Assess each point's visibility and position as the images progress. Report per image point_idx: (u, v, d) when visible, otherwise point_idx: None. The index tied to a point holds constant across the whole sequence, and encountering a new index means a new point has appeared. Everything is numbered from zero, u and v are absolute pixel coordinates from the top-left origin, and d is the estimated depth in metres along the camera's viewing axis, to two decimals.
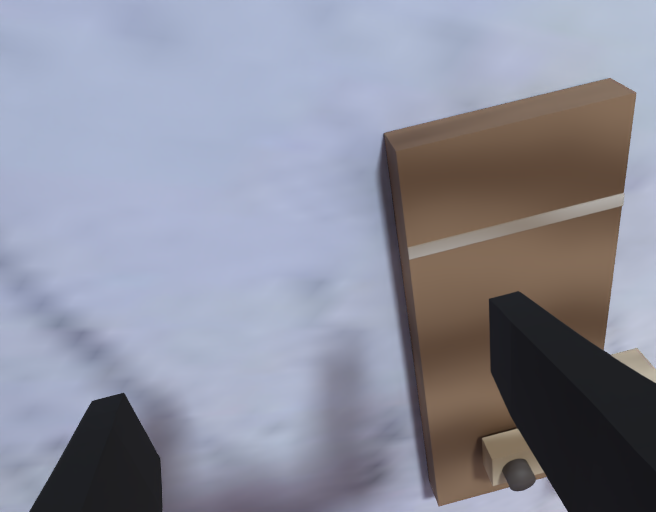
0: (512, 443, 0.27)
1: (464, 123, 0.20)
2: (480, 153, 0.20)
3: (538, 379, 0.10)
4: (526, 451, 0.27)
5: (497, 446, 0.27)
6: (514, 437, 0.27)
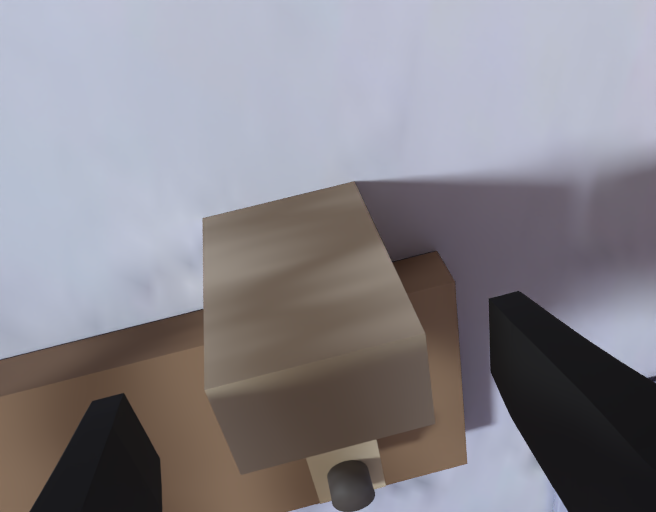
0: None
1: None
2: None
3: (538, 379, 0.10)
4: (312, 471, 0.17)
5: None
6: None
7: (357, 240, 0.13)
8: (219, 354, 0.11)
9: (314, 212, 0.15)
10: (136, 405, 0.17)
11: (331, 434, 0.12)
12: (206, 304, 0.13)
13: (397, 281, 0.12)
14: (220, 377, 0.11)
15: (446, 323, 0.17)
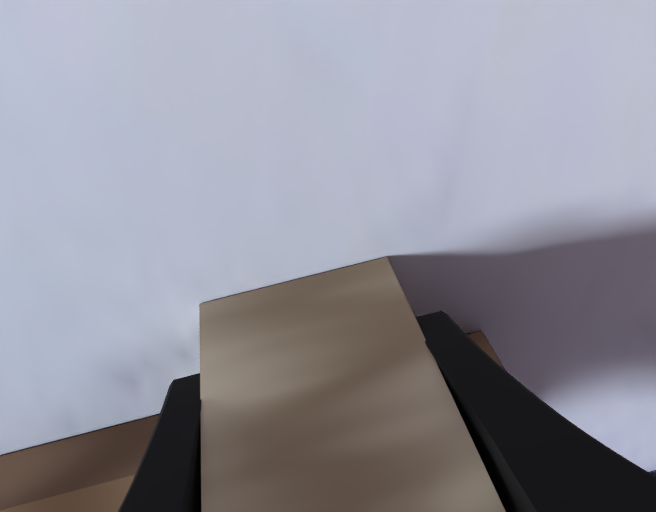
0: None
1: None
2: None
3: None
4: None
5: None
6: None
7: (399, 348, 0.10)
8: None
9: (340, 300, 0.12)
10: None
11: None
12: (204, 444, 0.10)
13: (458, 420, 0.09)
14: None
15: None
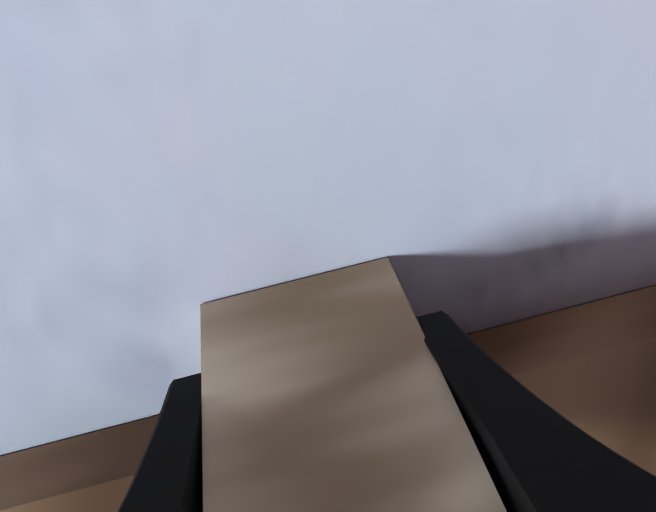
0: None
1: None
2: None
3: None
4: None
5: None
6: None
7: (399, 349, 0.10)
8: None
9: (340, 301, 0.12)
10: None
11: None
12: (206, 444, 0.10)
13: (459, 420, 0.09)
14: None
15: None
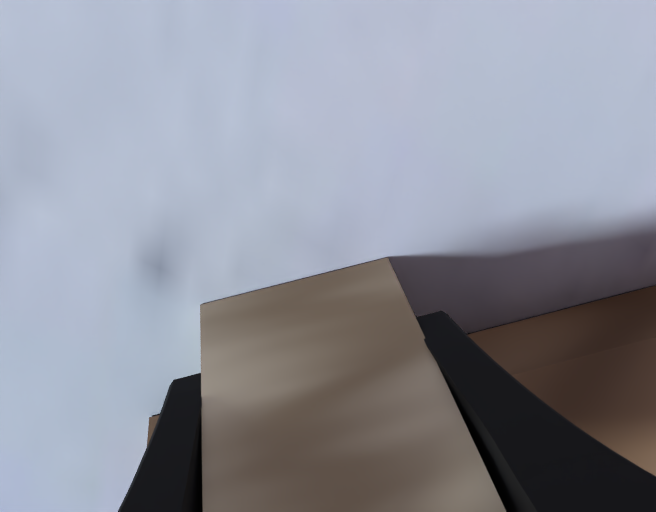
0: None
1: None
2: None
3: None
4: None
5: None
6: None
7: (399, 349, 0.10)
8: None
9: (340, 301, 0.12)
10: (626, 387, 0.14)
11: None
12: (205, 444, 0.10)
13: (459, 421, 0.09)
14: None
15: None
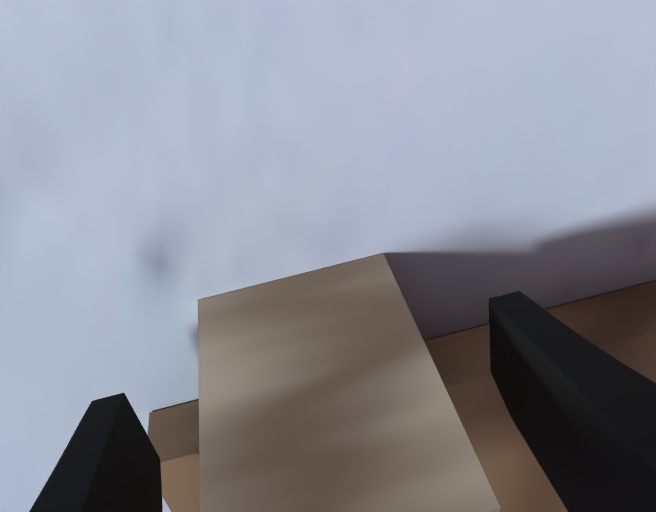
0: None
1: None
2: None
3: (538, 379, 0.10)
4: None
5: None
6: None
7: (394, 344, 0.11)
8: None
9: (337, 297, 0.12)
10: None
11: None
12: (203, 437, 0.10)
13: (453, 414, 0.09)
14: None
15: None
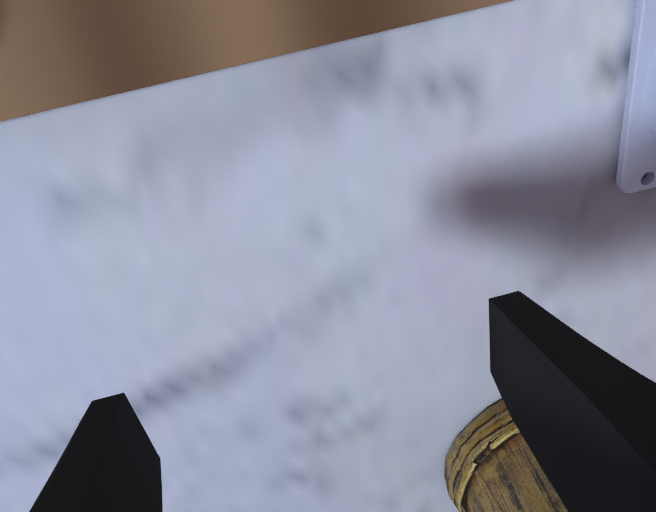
0: None
1: None
2: None
3: (538, 379, 0.10)
4: None
5: None
6: None
7: None
8: None
9: None
10: None
11: None
12: None
13: None
14: None
15: None
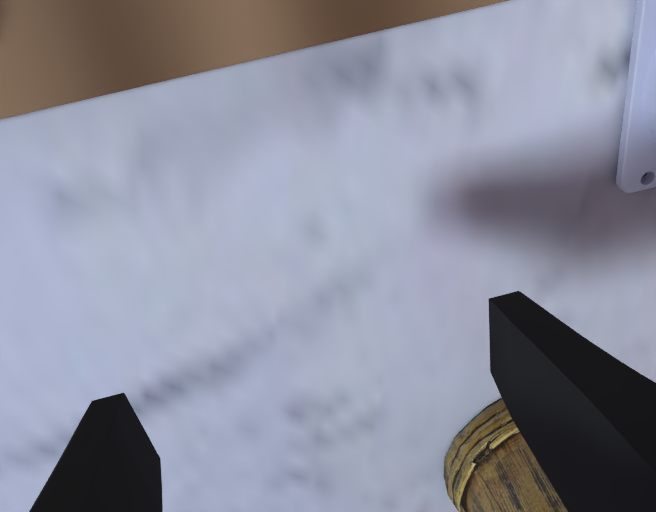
0: None
1: None
2: None
3: (538, 379, 0.10)
4: None
5: None
6: None
7: None
8: None
9: None
10: None
11: None
12: None
13: None
14: None
15: None
